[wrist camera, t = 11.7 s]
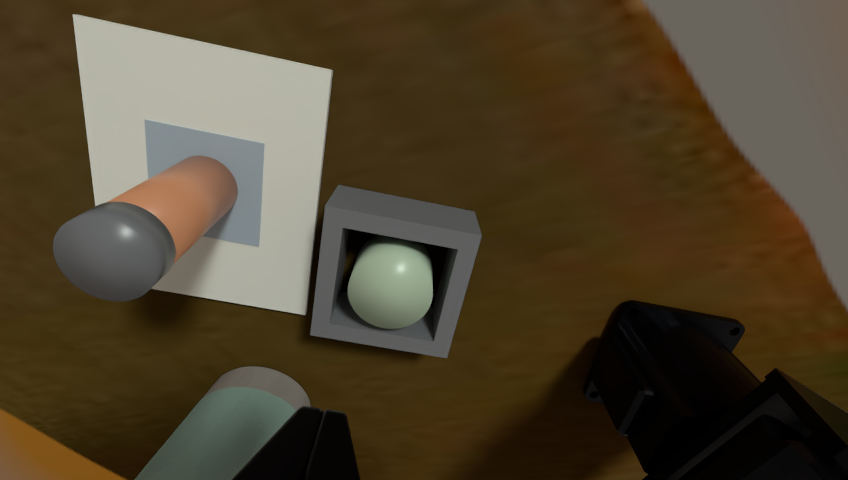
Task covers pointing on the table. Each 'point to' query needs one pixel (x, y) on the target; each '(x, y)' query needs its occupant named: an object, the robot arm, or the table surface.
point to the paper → (213, 150)
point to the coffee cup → (227, 426)
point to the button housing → (405, 223)
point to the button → (391, 282)
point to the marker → (144, 229)
